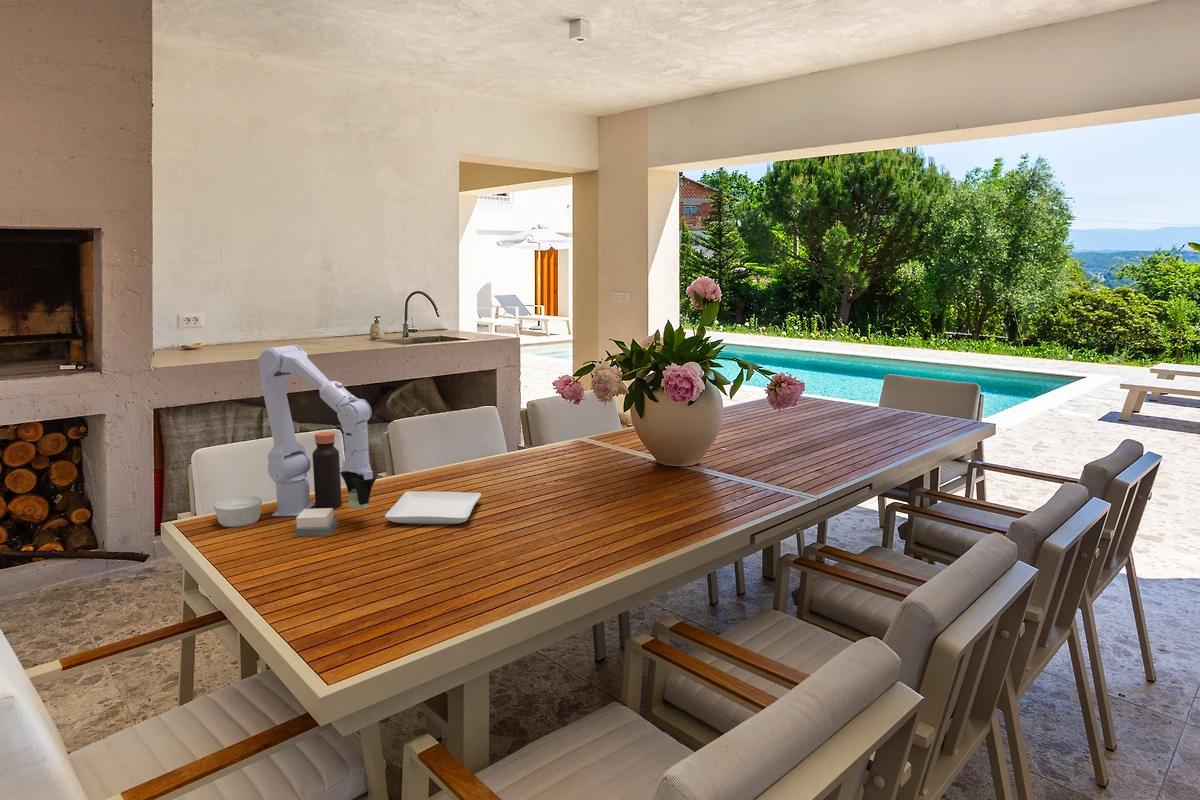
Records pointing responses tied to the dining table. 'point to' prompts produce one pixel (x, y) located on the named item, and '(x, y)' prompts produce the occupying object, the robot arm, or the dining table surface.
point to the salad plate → (433, 507)
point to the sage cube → (355, 501)
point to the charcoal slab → (317, 530)
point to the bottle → (326, 472)
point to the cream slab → (314, 518)
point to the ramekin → (238, 510)
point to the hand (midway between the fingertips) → (359, 500)
